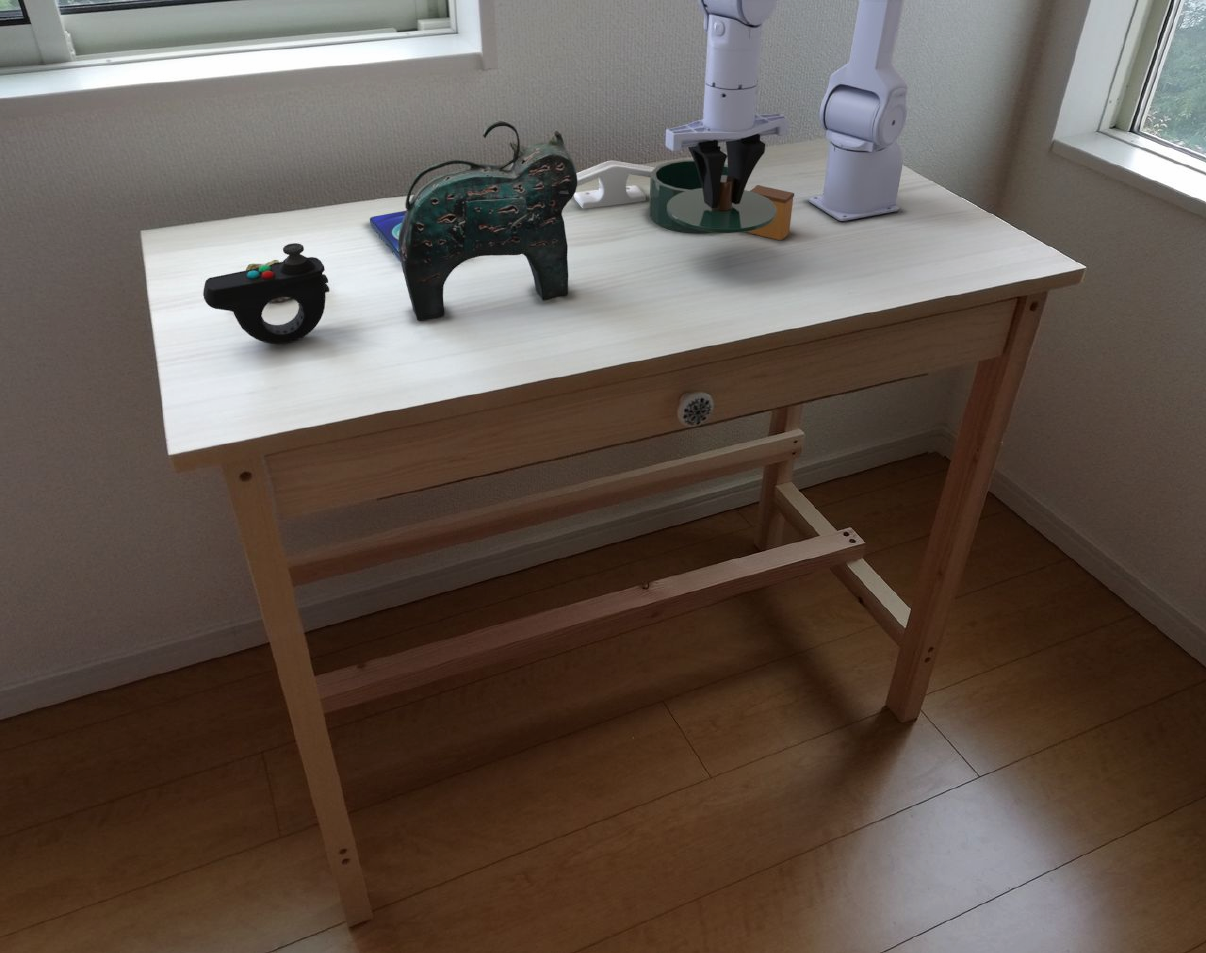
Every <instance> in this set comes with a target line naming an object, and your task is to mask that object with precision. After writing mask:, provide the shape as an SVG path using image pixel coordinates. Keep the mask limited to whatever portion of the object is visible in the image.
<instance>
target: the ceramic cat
mask: <svg viewBox="0 0 1206 953" xmlns="http://www.w3.org/2000/svg"><path fill="white" fill-rule="evenodd" d="M498 127H499V128H500V127H507V128H510V129H511V130H512V131H513V132H514V133H515V136H516V140H517V142H513V141H509V146H510V148H511V149H512V151H513V154H512V159H511V160H509V161H508V162H506V163H504V164H503V163H502V164H495V165H494V164H490V163H476V162H473V161H469V160H463V159H462V160H461V159H451V160H448V161H447V160H446V161H443V162H439V163H436V164H433V165H431V166H428V167H427V168H425V169H423V170H420V171H419V172H418V174H417V175H416V176H415V177H414V178H413V179H412V182H410V185H409V186H408V187H409V188H408V189H407V190H408V191H407V192H406V193H407V194H406V199H405V202H404V204H405V205H404V207H405V211H406V212H405V215H404V218H403V221H402V224H401V227H400V232H399V239H398V250H399V255H400V259H401V262H400V264H401V269H402V273H403V277H404V281H405V285H406V289H407V292H408V297H409V300H410V303H411V307H412V311H413V314H414V315H415V317H416V320H417V321H429V320H430V321H431V320H436V319H440V318H441V319H442V318H443V317H445V313H446V311H445V304H444V287H445V286H444V285H445V284H446V281H447V280H448V278H449V277H450V275H451V274H452V272H453V271H454V270H455V269H456V268H457V267H458V266H460V265H461V264H463V263H465V262H466V261H469V260H471V259H476V258H479V257H489V256H490V257H491V256H493V257H494V256H496V257H497V256H521V255H523V256H525V258H526V260H527V262H528V264H529V267H530V271H531V274H532V277H533V282H534V288H535V289H534V290H535V292H536V294H537V295H538V296H539V298H540V299H541V301H542V302H543V301H548V300H551V299H554V298H562V297H563V298H564V297H568V295H569V263H568V262H569V261H568V248H569V247H568V241H567V234H566V227H565V226H566V225H565V221H564V217H563V211H564V208H565V207H566V206H567V204H568V203H569V202H570V201H571V200H572V198H574V194H575V193H576V192H577V188H578V186H577V174H576V173H577V168H576V165H575V162H574V161H573V158H572V157H571V154H570V153H569V152H568V150H567V148H566V145H565V142H564V139H563V136H562V134H561V133H560V132H559V131H558V130H555V131H554V132H553V134H552V136H551V138H550V140H549V141H548V142H540V143H534V144H532V145H528V146H523V145H521V140H520V136H519V135H520V134H519V133H518V130H517V129H516V127H515V126H514V125H513V124H511V123H509V122H506V121H502V120H498V121H494V122H492V123H491V124H489V125H488V126H487V127H486V128H485V130H484V131H483V134H482V136H483V138H484V139H487V136H488V135H489V133H491V132H492V131H493V130H494V129H496V128H498ZM451 165H465V166H466V167H463V168H460V169H458V170H455V171H452V172H446V173H442V174H440V175H437V176H435V177H433V178H431V179H430V180H429V181H428V182H427V183H426V184H424V185H423V186H421V187H420V188H419V189H418V190H417V191H416V192H414V195H413V196H412V197H411V195H412V192H413V191H414V190H413V189H414V188H415V187H416V185H417V184H418V183H419V181H420V180H421V179H422V178H423V177H424V176H425V175H427V174H428V173H430V172H432V171H435V170H438V169H441V168H444V167H447V166H451ZM410 198H411V199H410Z"/></svg>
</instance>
